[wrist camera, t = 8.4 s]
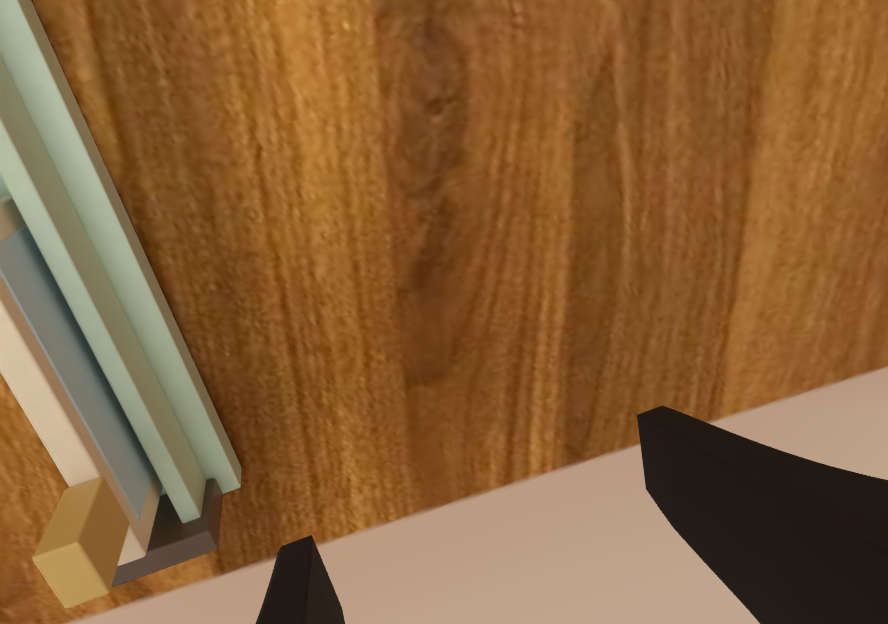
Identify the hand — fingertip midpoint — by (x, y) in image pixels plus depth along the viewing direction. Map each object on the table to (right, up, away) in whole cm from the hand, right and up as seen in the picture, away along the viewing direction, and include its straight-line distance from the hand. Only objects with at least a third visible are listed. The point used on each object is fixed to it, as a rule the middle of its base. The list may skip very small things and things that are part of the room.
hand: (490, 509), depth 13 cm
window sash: (-11, +3, +5) cm, 13 cm away
